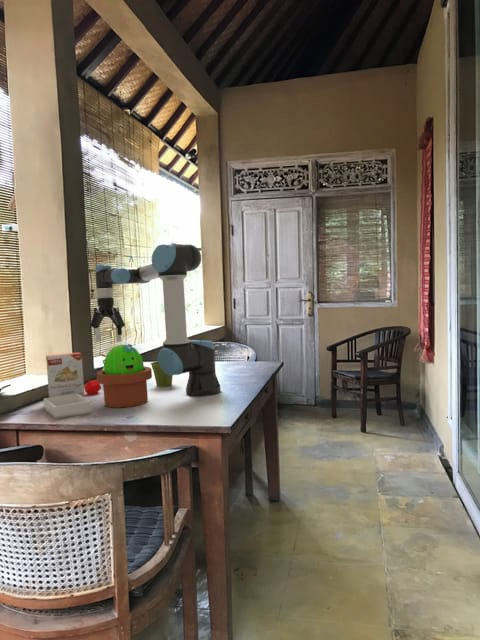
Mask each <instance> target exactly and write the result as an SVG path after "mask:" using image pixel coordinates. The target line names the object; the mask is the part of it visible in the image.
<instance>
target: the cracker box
mask: <svg viewBox="0 0 480 640" xmlns="http://www.w3.org/2000/svg"><path fill="white" fill-rule="evenodd" d="M45 361H46V372H47V373H46V375H47V386H48V387H47V389H48V398H50V397H56V396H63V395H69V394H75V393H77V394H79V395H81V396H82V397H84V398H86V397H85V387H84V386H85V385H84V369H83V353H81V352H69V353H59V354H49V355H46V356H45Z"/></svg>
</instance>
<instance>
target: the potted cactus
mask: <svg viewBox="0 0 480 640" xmlns="http://www.w3.org/2000/svg"><path fill="white" fill-rule="evenodd" d="M152 372H153V369H152V367H150V366H146V365H145V364H144V360H143V357H142V355H141V353H140V351H138V350H137V348H135V347H133V344H129V343H125V344H118V345H115V346H113V347H112V348H111V349H110V350H108V352H107V353H106V355H105V358H104V362H103V370H99V371H97V372H96V380H97V382H98V383H100V385H102V386H103V401H104V405H105V406H106V407H109V408H115V409H116V408H117V409H119V408H120V409H121V408H129V407H130V406H131V407H135V405H136V406H139V405H140V406H141V405H143V404H145V403H147V402H148V400H149V397H148V383H147V382H148V380H150V379H152V377H153V373H152Z"/></svg>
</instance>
